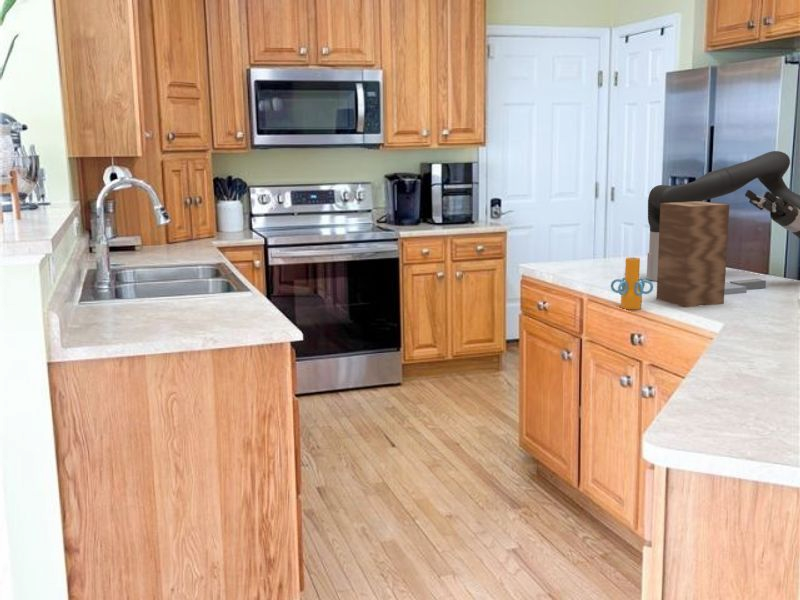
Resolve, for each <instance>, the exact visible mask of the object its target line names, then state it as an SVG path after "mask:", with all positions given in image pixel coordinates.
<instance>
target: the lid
mask: <svg viewBox="0 0 800 600" xmlns="http://www.w3.org/2000/svg"><path fill="white" fill-rule="evenodd" d="M766 284H767V280H765V279H761V278H752V279H740V280H732V281H731V280H730V281H729V282H727V281H725V289H724V296H727V295H737V294H739V295H740V294H746V293H747V291H748V290H758V289H766V286H767V285H766Z"/></svg>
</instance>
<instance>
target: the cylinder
mask: <svg viewBox="0 0 800 600" xmlns="http://www.w3.org/2000/svg"><path fill="white" fill-rule="evenodd" d="M640 260H641V259H640V257H636V256H635V257H633V256H632V257H631V256H630V257H625V270H624V271H625V273H624V277H622V279H621V278H615V279H613V280H612V282H611V283H610V289H611V291H612V292H614V293H617V294H619V295H620V308H621V309H623V310H631V311H634V310H636V311H637V310H641V309H642V301H643V294H644V295H649V294H650V293H652V292H653V291H654V284H653V282H652V280H647V279H644V278H643V277H640V267H641V266H640V264H641V263H640V262H641V261H640ZM618 282H619V284H618V287H617V289H616V288H614V285H615V283H618ZM647 283H648V284H649V286H650V288H649V290H647V291H645V290H644V288H645V284H647Z"/></svg>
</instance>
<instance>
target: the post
mask: <svg viewBox="0 0 800 600" xmlns="http://www.w3.org/2000/svg"><path fill="white" fill-rule="evenodd" d="M729 221H730V204H729V203H719V202H708V201H695V202H675V203H660V226H659V250H658V273H657V281H656V300H659V301H663V302H666V303H670V304H672V305H675V306H680V307H683V308H690V306H692V307H700V306H699V305H703V306H710V305H711V306H712V304H713V305H721V304H722V305H723V304H724V303H725V295H724V289H725V282H726V271H727V253H728V235H729Z"/></svg>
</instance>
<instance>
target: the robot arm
mask: <svg viewBox="0 0 800 600" xmlns="http://www.w3.org/2000/svg"><path fill="white" fill-rule="evenodd" d="M790 165H791V159H790V156H789V155H788V154H786V152H783V151H779V150H774V151H773V150H772V151H768V152H766V153H763V154H761V155H758V156H756V157H754V158H752V159H749V160H746V161H743V162H740V163H737V164H734V165H733V164H732V165H729V166H725V167H722V168H719V169H718V168H717V169H715V170H712V171H710V172H707V173H705V174H703V175H701V176H700V177H698V178H697V179H696V180H694V181H691V182H687V183H684V184H678V185H666V184H659V185H656V186H654V187H652V189H651V190H650V191H649V194H648V198H647V222H648V226H649V240H648V241H649V245H648V252H647V259H646V261H647V264H646V265H647V266H646V280H649V281H654V282H657V273H658V250H659V226H660V203H675V202H695V201H701V202H705V201H707V200H708V201H709V200H711V199H714V198H715V199H716V198H718V197H722V196H726V195H729V194H732V193H734V192H736V191H738V190H739V189H741V188H743V187H745V186H746V185H748V184H749V183H750V182H752V181H753V180H756V179H757V180H758V181H759V182H760V183H761V184H762V185H763V186H764V187H765V188H766V189H767V190H768V191H765V193H764V194H763V196H760V195H757V194H756V193H755V192H753V191H752V190H749V189H747V190H746V192H745V194H744V196H745V197H747V199H749V201H748V203H750V204H751V205H753V206H754V207H755V208H757V209H759V210H760V211H763V210H765V211H766V212H769V213H770V214H769V215H770V219H771V220H772V221H773V222H774V223H777V225H779V226H781V228H783V229H785V230H787V231H788V232H790V233H792V234H794V236H796V237H798V239H799V240H800V194H798V193H795V192H794V191H793V190H791V189H790V188H789V187H788V186H787V184H786V183H785V181H784V179H783V177H784V176H785V174H786V173H787V171H788V169H789V167H790Z"/></svg>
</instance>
